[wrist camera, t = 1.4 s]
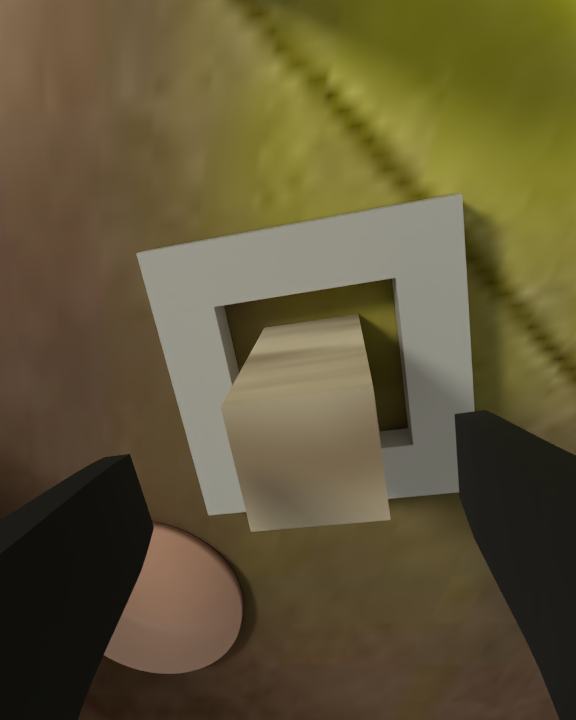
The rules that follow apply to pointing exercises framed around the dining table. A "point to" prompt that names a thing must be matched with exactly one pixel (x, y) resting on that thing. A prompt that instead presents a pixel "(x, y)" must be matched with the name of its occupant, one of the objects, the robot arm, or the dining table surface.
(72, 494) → the robot arm
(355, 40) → the dining table surface
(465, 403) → the grey square frame
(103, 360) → the dining table surface
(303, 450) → the maple block
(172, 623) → the pink disc
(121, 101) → the dining table surface
